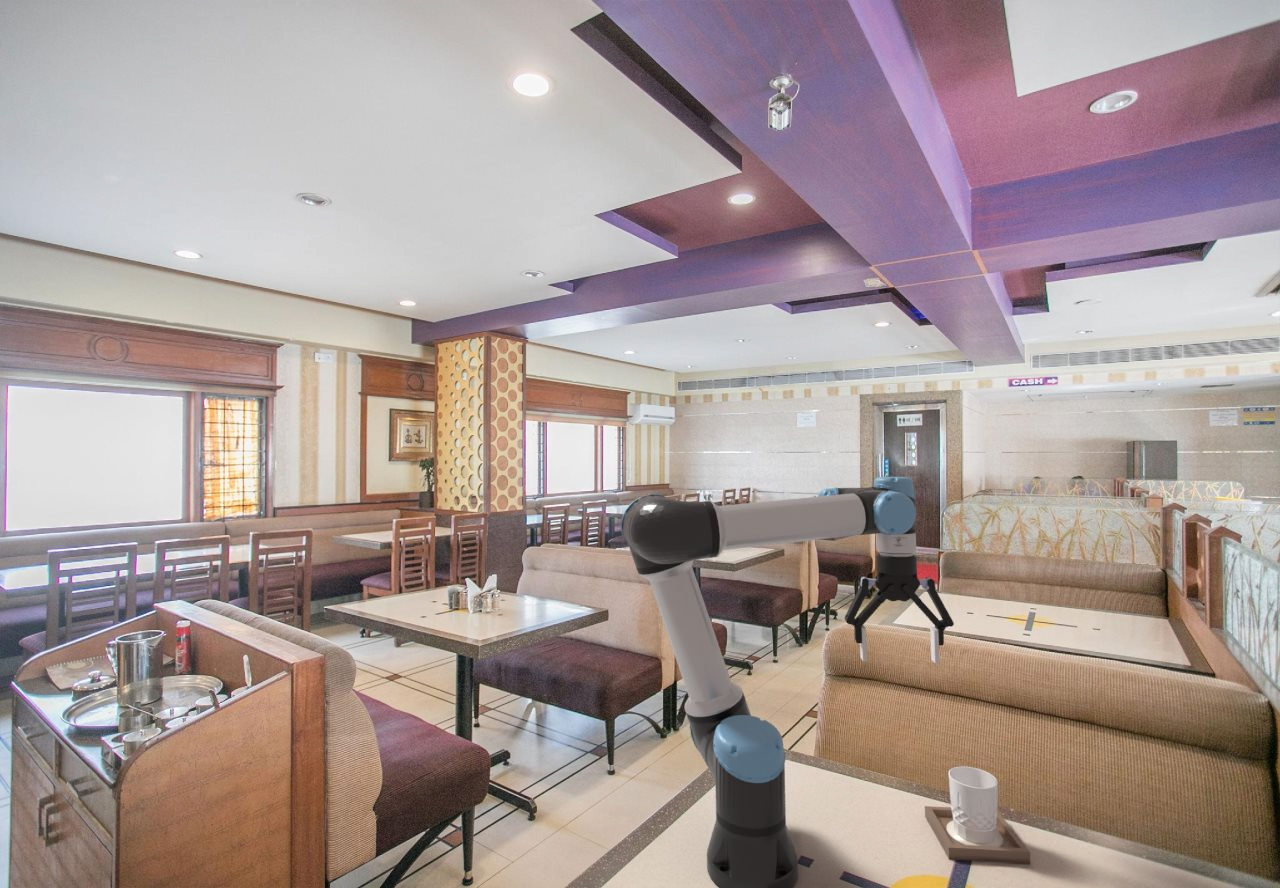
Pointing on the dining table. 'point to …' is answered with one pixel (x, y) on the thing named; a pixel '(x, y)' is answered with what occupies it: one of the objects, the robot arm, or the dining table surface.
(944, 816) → the tray
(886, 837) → the dining table surface
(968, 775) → the white cup
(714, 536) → the robot arm
